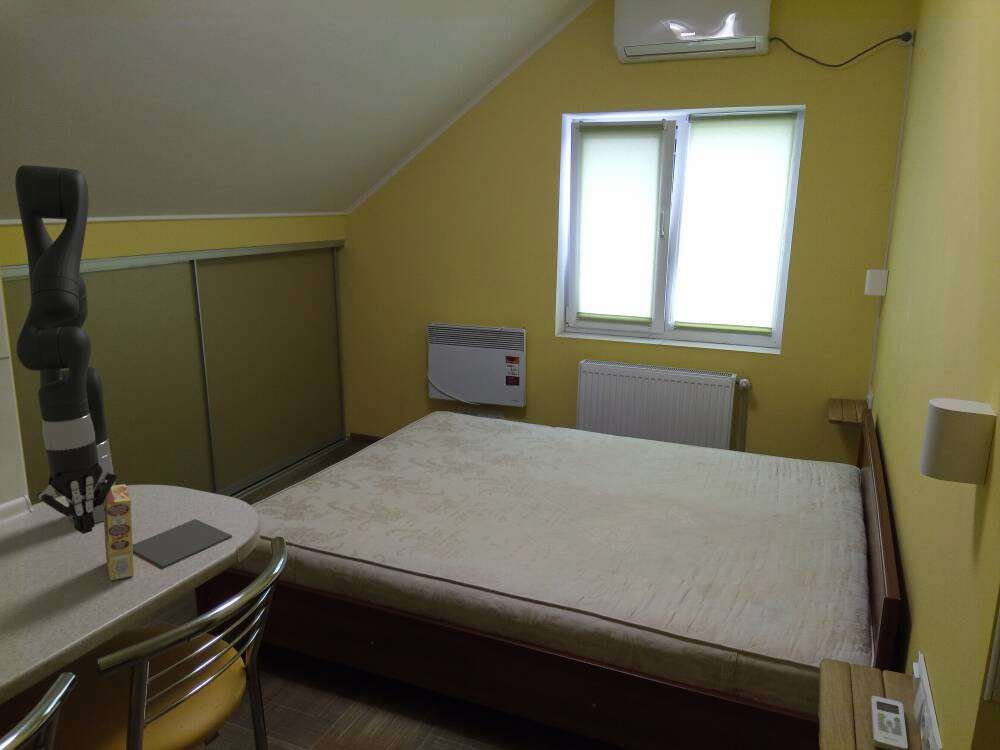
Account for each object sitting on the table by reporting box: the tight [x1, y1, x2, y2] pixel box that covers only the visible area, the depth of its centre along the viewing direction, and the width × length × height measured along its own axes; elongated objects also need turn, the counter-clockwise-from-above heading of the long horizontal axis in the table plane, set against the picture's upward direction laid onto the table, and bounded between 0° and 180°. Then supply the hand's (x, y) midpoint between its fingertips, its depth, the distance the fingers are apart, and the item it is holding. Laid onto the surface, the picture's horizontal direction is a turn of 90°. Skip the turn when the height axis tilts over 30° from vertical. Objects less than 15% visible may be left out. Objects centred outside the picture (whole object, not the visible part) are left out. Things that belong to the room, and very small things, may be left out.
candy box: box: [103, 483, 135, 581], centre depth 131 cm, size 9×4×15 cm, turn 34°
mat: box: [133, 518, 233, 569], centre depth 143 cm, size 13×15×1 cm
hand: (85, 531), depth 126 cm, fingers closed
